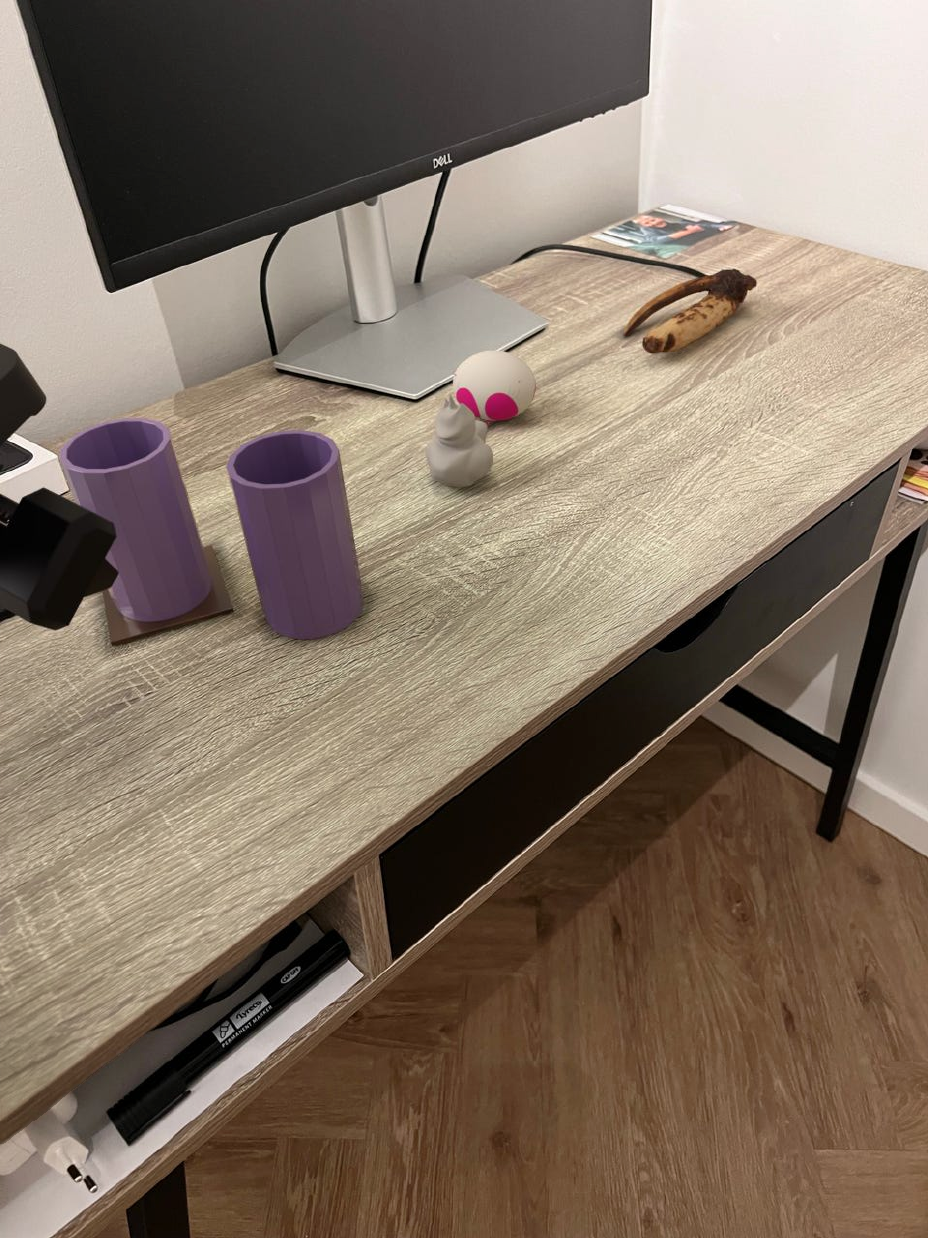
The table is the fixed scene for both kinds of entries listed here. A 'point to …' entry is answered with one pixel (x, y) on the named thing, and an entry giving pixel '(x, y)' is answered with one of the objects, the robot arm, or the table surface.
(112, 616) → the coaster
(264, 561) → the tumbler
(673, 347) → the lashed bone hook
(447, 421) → the rubber duck
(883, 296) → the table surface
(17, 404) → the robot arm
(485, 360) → the stress ball
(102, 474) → the tumbler
